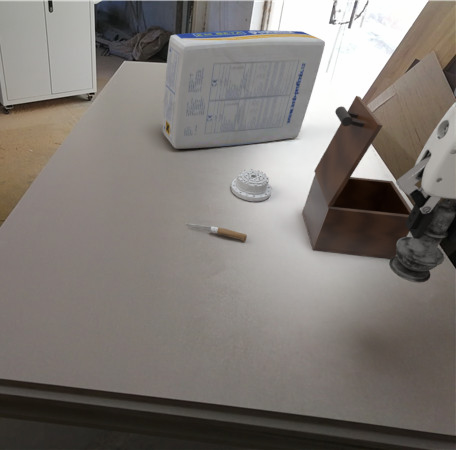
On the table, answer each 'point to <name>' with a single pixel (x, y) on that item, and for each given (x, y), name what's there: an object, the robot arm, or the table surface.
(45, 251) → the table surface
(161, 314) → the table surface
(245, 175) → the mechanical component
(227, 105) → the construction material bag
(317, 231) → the chest
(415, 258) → the dark grey chess piece
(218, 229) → the folding knife
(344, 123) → the lid
